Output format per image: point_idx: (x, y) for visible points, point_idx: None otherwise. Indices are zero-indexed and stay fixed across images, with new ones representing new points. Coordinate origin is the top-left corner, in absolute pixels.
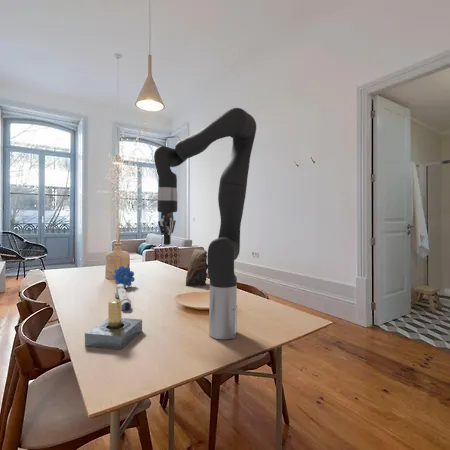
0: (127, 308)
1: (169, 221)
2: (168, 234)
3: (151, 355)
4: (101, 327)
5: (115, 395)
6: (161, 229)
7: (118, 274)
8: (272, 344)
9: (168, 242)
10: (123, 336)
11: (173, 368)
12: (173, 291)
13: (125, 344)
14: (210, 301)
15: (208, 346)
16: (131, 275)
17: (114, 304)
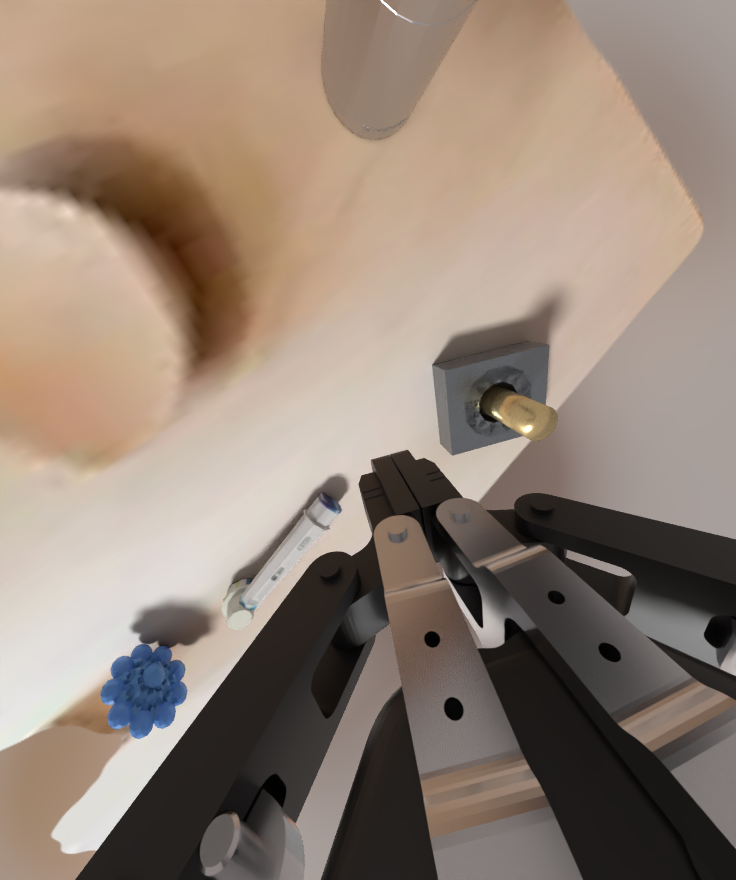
0: (328, 497)
1: (713, 711)
2: (472, 506)
3: (541, 253)
4: None
5: (670, 227)
6: (625, 577)
7: (168, 698)
8: None
9: (415, 463)
10: (535, 346)
11: (587, 156)
12: (68, 507)
13: (512, 345)
14: (457, 31)
15: (469, 99)
16: (120, 681)
17: (555, 412)
